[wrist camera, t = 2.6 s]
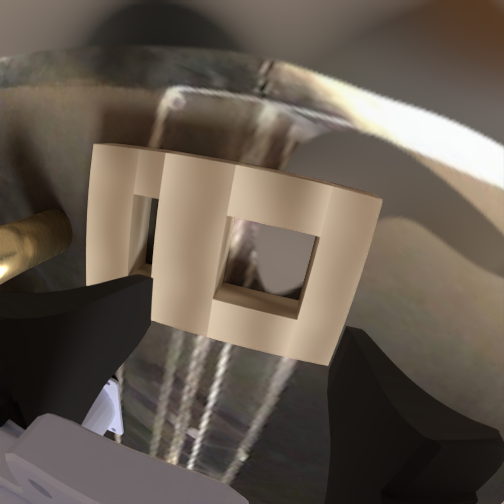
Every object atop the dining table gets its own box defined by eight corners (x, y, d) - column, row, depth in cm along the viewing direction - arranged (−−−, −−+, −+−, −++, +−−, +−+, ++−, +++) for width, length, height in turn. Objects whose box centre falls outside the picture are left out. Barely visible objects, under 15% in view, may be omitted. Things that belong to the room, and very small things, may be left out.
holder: (106, 283, 22) (87, 297, 20) (115, 143, 19) (93, 143, 16) (326, 343, 20) (327, 365, 18) (372, 193, 17) (382, 199, 15)
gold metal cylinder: (42, 246, 22) (-31, 281, 15) (42, 205, 21) (-37, 231, 13) (72, 256, 22) (-3, 298, 14) (72, 212, 21) (-10, 243, 13)
